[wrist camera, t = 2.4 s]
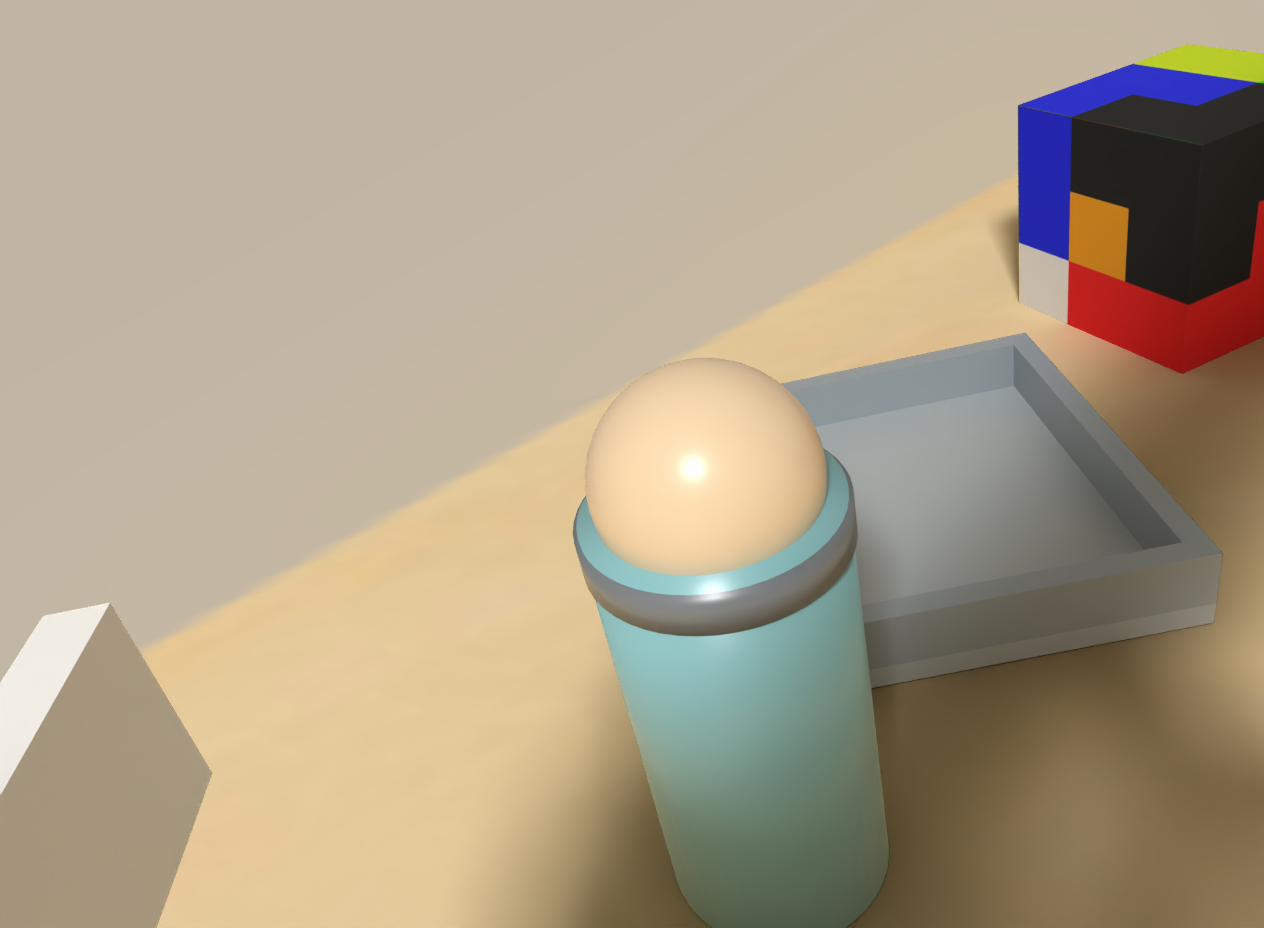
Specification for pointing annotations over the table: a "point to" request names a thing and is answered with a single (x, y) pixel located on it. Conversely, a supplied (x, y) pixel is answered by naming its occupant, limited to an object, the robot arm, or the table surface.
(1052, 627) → the tray
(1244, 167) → the puzzle toy
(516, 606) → the table surface
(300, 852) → the table surface
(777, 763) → the ball tube
